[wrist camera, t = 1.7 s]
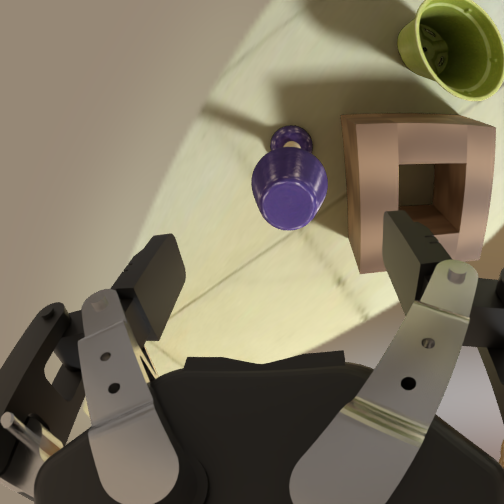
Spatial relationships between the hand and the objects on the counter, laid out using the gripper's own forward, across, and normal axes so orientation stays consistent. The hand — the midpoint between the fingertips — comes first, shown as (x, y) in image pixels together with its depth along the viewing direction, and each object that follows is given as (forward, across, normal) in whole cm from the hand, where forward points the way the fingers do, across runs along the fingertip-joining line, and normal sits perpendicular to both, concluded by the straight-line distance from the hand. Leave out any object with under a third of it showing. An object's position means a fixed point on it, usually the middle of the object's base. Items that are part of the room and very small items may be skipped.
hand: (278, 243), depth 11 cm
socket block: (+21, -13, +5) cm, 25 cm away
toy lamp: (+21, -1, 0) cm, 21 cm away
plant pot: (+21, -16, -9) cm, 28 cm away
